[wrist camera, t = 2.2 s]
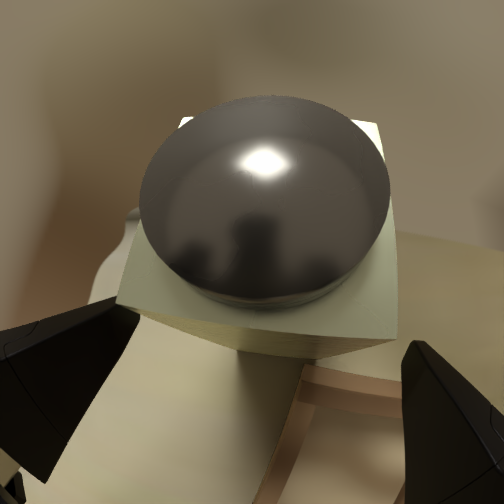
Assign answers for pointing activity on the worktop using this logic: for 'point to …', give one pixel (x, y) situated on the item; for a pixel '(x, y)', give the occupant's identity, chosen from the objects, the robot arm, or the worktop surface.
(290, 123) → the tin
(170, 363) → the worktop surface
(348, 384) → the brown wooden frame
